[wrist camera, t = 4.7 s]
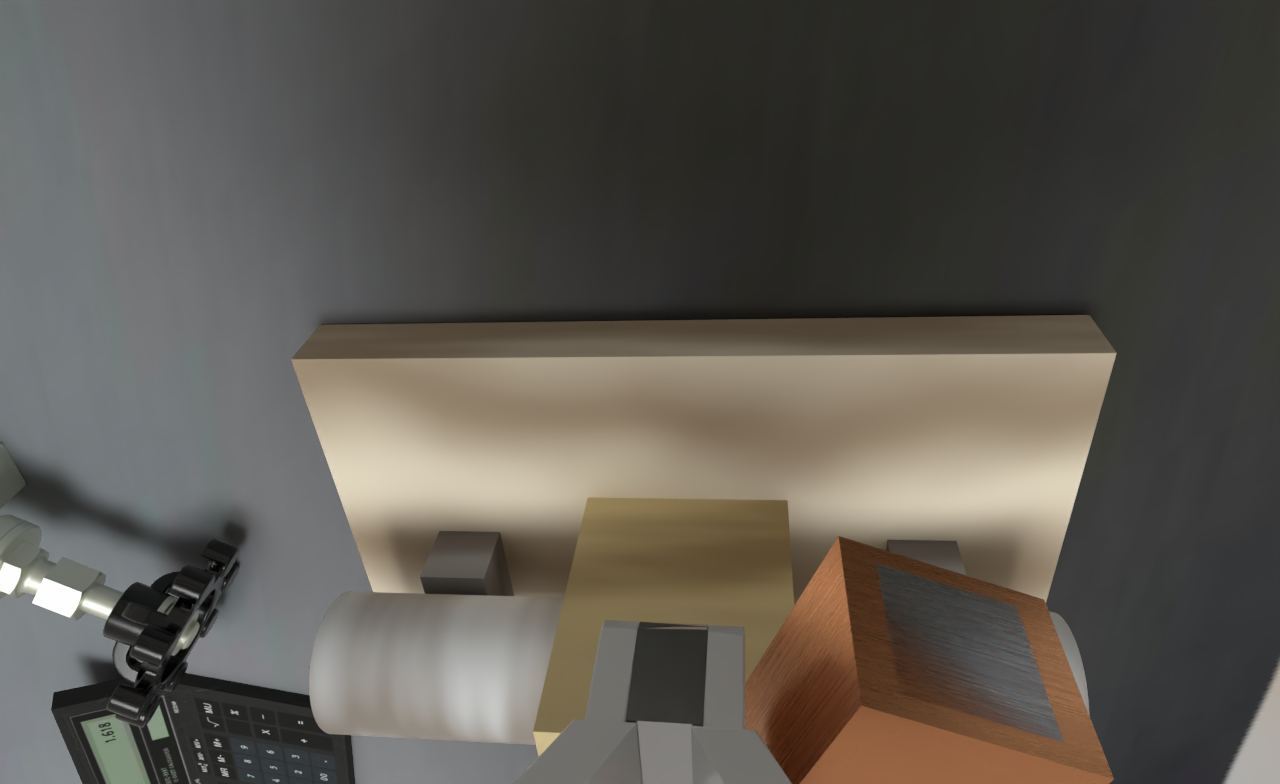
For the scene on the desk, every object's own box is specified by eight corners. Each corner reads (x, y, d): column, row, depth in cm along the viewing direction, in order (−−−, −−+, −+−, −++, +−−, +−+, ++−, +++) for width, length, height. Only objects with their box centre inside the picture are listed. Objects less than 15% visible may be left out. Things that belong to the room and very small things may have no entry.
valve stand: (320, 324, 25) (22, 674, 15) (1089, 314, 23) (1386, 735, 12) (430, 667, 34) (292, 1038, 24) (993, 690, 31) (1118, 1121, 21)
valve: (-85, 495, 32) (222, 616, 34) (-255, 633, 26) (123, 767, 29) (-85, 369, 28) (257, 514, 30) (-283, 499, 23) (151, 663, 25)
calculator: (359, 810, 42) (335, 872, 39) (131, 768, 42) (93, 827, 39) (350, 697, 36) (321, 760, 34) (89, 648, 37) (41, 708, 34)
